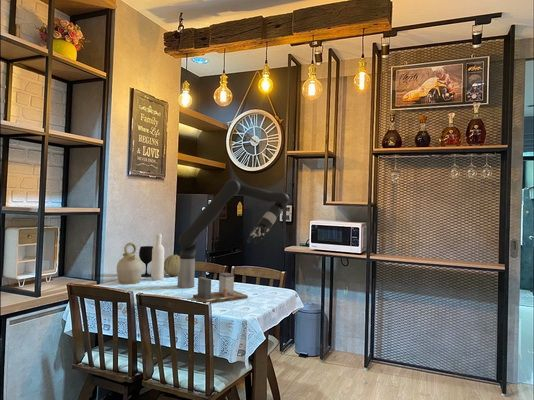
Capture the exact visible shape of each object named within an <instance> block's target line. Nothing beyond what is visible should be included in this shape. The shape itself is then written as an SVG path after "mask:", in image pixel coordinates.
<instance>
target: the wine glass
mask: <svg viewBox="0 0 534 400" xmlns="http://www.w3.org/2000/svg"><path fill="white" fill-rule="evenodd" d="M153 247H154V246H153V245H142V246H140V247H139V251H138V256H139V257H138V258H139V259H140V260H141V262H142V264H144V265H145V272H144V273H142V274H141V278H151V274H152V273H148V265H149V264H150V263H152V249H153Z"/></svg>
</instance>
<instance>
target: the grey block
mask: <svg viewBox="0 0 534 400" xmlns="http://www.w3.org/2000/svg"><path fill="white" fill-rule="evenodd" d="M234 280H235V274H234V273H229V272H221V273H219V278H218V282H219V283H218V292H219V294H222V295H224V289H225V288H226V289H228V291H227V296H229V295H233V290H234V289H235V288H234V283H235V281H234Z"/></svg>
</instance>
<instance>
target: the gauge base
mask: <svg viewBox="0 0 534 400" xmlns="http://www.w3.org/2000/svg"><path fill="white" fill-rule="evenodd" d="M192 298H193V299H195V300H197V301H200V302H201V301H202V302H201V303H203V302H210V303H211V304H217V302H218V303H224V302H231V301H238V300H239V301H240V300H245V299H249V295H247V294H244V293H242V292H239V291H236V290H234V289H233V295H229V296H227V297H224V296H223V295H222V294H219V291H213V292H212V291H211V299H203V298H201V297H199V296H198V293H196V294H192Z"/></svg>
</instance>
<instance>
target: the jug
mask: <svg viewBox="0 0 534 400" xmlns="http://www.w3.org/2000/svg"><path fill="white" fill-rule="evenodd" d="M129 246H132V248H133V251H132V252H128V247H129ZM123 250H124V251H123V253H122V256H123V257H122V258H120V259H119V261H118V262H117V264H116V273H117V280H118V282H119V284H121V285H136V283H137V284H139V283H140V281H141V279H142V277H141V274H143V267H144V266H143V262H142V261H141V260H140V257H137V256H136V252H137V246H136V244H135V243H133V242H128V243H126V244H125V246H124V248H123Z"/></svg>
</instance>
